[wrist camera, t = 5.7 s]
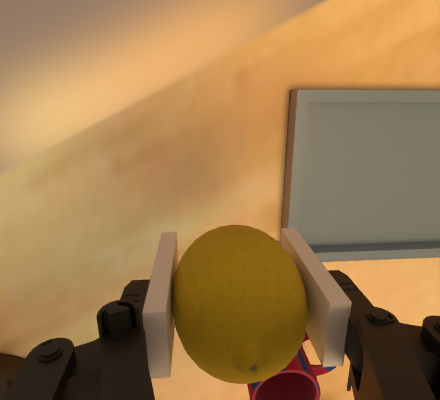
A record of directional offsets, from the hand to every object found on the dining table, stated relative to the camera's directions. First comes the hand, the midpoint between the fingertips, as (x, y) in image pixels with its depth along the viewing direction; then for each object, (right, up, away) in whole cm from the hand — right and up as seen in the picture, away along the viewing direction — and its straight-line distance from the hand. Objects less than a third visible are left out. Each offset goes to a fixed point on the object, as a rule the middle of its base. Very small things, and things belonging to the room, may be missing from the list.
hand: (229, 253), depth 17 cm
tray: (+16, +5, +15) cm, 22 cm away
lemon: (0, 0, 0) cm, 1 cm away
